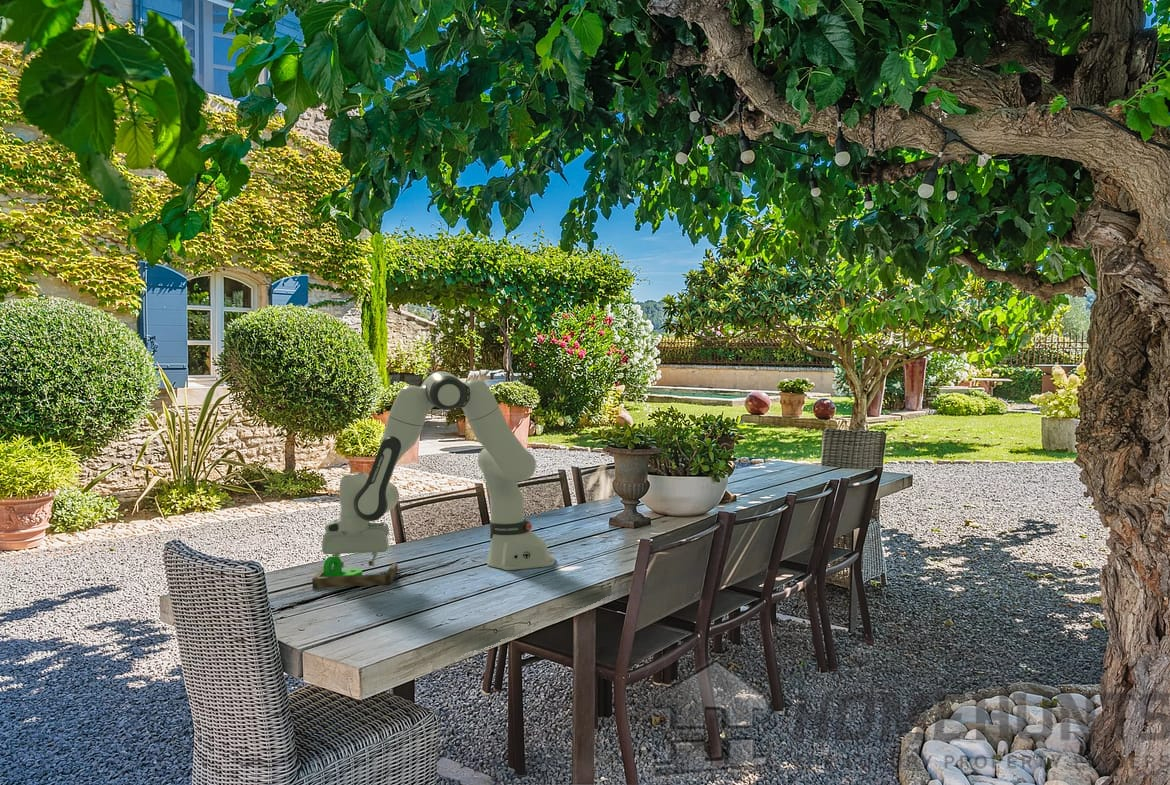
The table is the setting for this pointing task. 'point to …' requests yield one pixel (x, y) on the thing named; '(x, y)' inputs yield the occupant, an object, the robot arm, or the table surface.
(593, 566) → the table surface
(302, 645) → the table surface
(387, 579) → the walnut bay
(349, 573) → the mechanical part
